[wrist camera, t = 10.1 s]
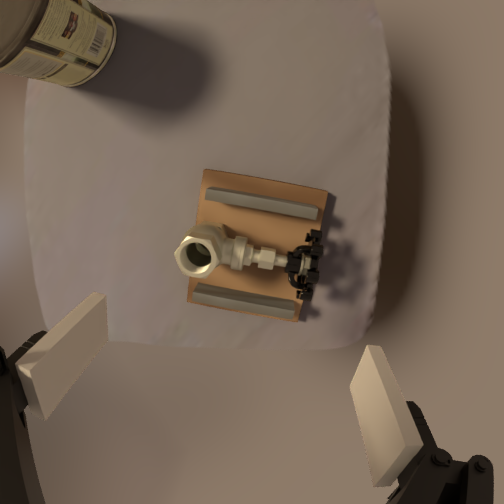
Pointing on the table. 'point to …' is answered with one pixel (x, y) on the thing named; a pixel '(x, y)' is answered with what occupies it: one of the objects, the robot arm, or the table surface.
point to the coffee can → (55, 40)
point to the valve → (248, 256)
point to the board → (256, 240)
